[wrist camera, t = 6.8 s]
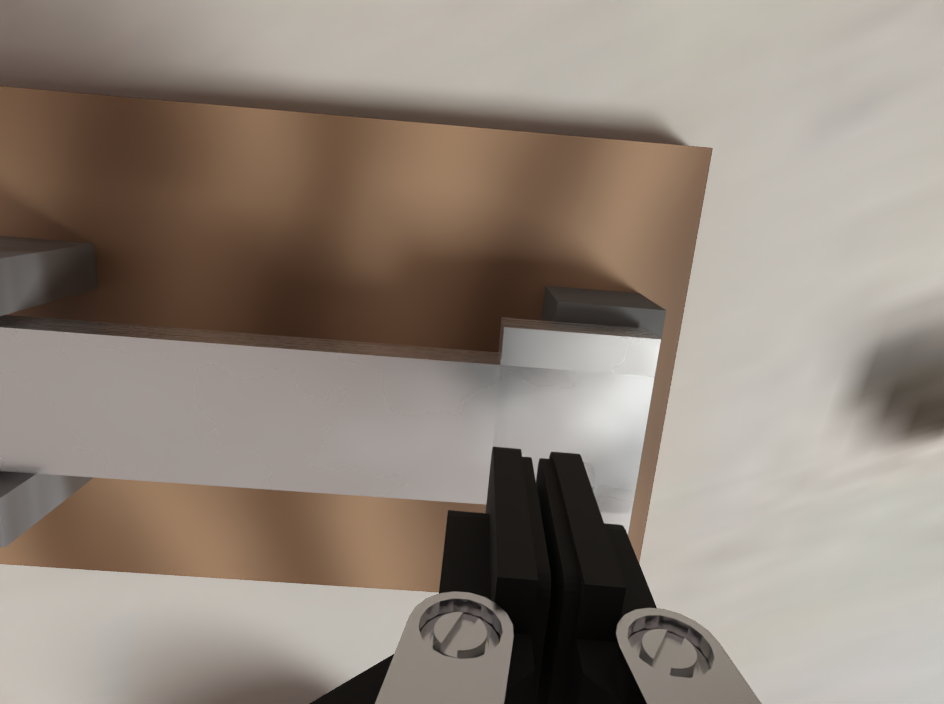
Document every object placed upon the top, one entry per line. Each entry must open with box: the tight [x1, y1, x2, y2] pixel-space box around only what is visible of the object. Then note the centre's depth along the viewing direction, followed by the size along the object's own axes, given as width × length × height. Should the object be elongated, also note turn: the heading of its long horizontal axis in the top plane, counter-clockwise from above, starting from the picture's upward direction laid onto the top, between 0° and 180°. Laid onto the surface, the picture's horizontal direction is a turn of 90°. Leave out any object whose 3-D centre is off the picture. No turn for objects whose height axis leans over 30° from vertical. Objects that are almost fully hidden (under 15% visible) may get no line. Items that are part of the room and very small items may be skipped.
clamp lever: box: [0, 315, 661, 534], centre depth 17 cm, size 19×6×2 cm, turn 85°
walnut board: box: [0, 86, 713, 592], centre depth 18 cm, size 24×16×6 cm, turn 85°
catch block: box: [542, 286, 666, 534], centre depth 19 cm, size 3×7×3 cm, turn 176°
